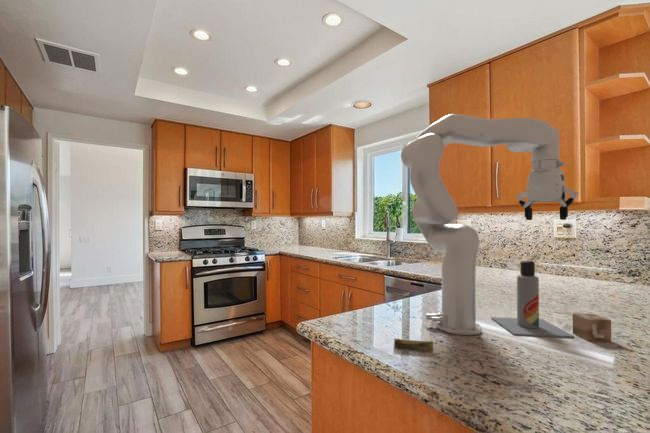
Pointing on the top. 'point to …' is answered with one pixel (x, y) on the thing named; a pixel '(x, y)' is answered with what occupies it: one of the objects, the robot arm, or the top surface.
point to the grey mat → (542, 331)
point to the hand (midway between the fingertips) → (545, 219)
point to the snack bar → (414, 345)
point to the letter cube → (592, 327)
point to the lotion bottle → (527, 296)
